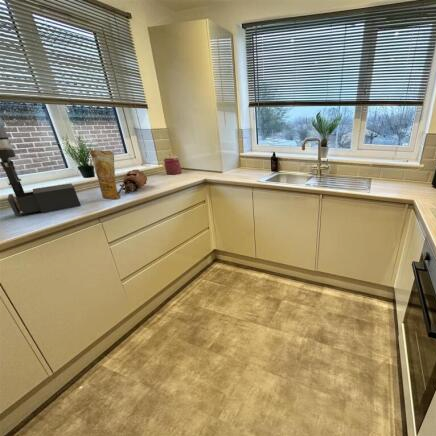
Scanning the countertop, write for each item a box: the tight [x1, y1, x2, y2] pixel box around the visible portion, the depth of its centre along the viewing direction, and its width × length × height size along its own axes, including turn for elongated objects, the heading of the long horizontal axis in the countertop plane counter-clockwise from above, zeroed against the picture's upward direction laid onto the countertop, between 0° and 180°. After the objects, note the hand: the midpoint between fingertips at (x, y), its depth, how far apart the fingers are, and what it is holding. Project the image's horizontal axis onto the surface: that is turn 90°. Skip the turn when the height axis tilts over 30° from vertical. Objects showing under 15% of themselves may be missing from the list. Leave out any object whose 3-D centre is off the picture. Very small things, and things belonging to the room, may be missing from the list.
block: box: [15, 198, 22, 213], centre depth 123 cm, size 6×6×6 cm
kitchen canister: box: [162, 152, 182, 176], centre depth 211 cm, size 13×13×18 cm
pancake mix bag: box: [89, 149, 121, 200], centre depth 143 cm, size 7×19×28 cm, turn 64°
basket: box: [0, 191, 41, 217], centre depth 122 cm, size 21×13×9 cm, turn 136°
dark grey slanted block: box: [32, 182, 82, 214], centre depth 131 cm, size 16×14×11 cm
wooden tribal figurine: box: [118, 169, 148, 195], centre depth 162 cm, size 15×15×25 cm
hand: (20, 195), depth 121 cm, fingers open, 8 cm apart
